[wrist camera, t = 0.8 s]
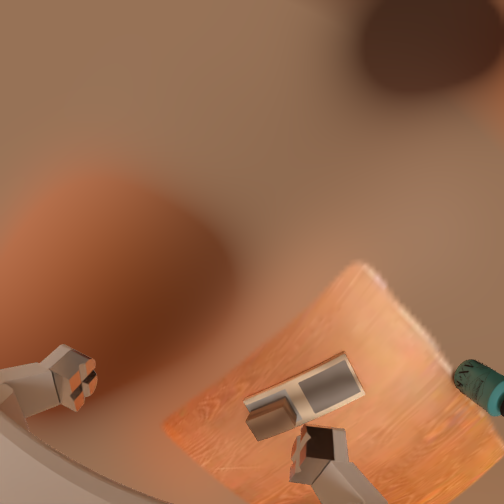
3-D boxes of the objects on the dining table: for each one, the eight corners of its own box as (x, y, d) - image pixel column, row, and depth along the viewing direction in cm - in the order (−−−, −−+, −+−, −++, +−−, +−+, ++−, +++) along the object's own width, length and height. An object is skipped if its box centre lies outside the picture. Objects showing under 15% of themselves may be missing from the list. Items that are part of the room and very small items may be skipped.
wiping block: (296, 415, 49) (295, 427, 44) (262, 428, 49) (258, 441, 45) (285, 395, 49) (283, 406, 44) (251, 410, 50) (245, 421, 45)
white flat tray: (364, 391, 48) (365, 394, 47) (266, 434, 51) (265, 438, 49) (343, 351, 50) (344, 353, 48) (244, 398, 52) (242, 401, 51)
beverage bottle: (476, 353, 44) (535, 380, 25) (474, 383, 44) (528, 419, 24) (450, 360, 45) (504, 393, 26) (448, 391, 45) (497, 434, 25)
